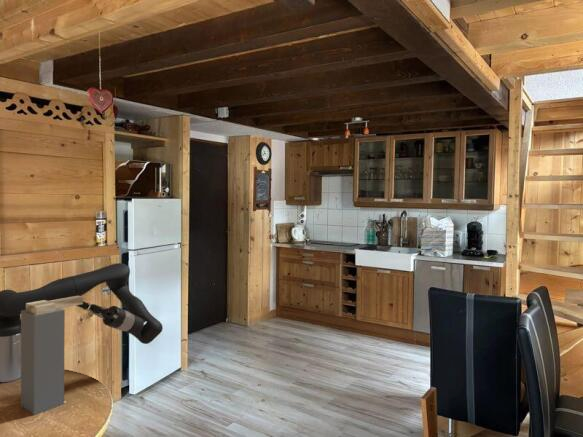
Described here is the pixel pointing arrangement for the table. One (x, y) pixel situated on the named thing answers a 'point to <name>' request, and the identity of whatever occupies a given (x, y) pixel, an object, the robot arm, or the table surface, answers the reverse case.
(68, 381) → the table surface
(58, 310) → the tall grey pillar
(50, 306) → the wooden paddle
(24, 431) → the table surface
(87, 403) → the table surface
